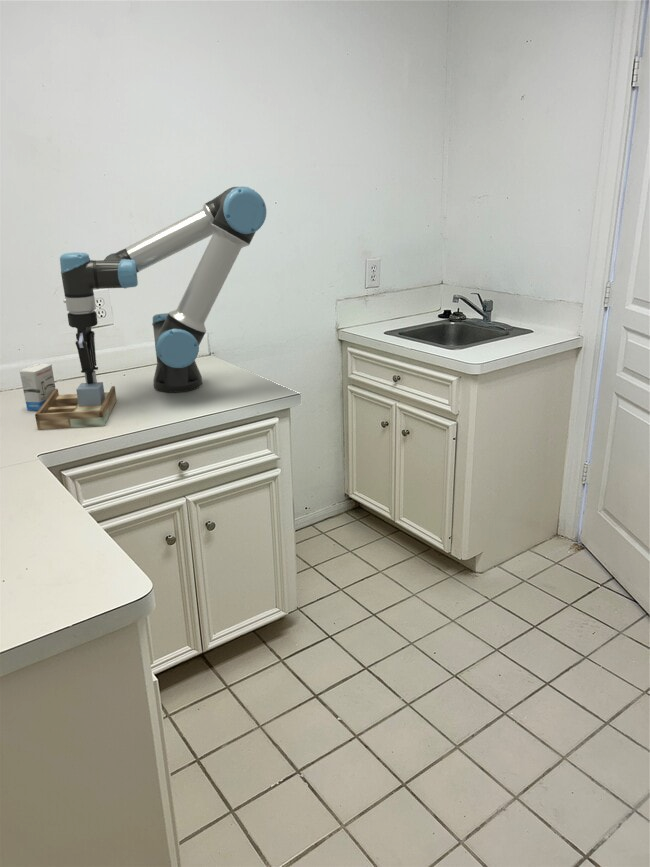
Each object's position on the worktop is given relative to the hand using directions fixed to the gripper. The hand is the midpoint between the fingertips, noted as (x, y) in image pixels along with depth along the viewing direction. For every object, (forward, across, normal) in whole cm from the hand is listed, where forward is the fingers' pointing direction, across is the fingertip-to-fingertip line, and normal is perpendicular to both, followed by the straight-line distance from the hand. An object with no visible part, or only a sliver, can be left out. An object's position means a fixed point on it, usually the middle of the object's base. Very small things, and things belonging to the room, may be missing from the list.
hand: (92, 393), depth 185 cm
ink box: (+5, -3, -15) cm, 16 cm away
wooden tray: (+4, +6, -3) cm, 8 cm away
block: (+2, +4, 0) cm, 4 cm away
